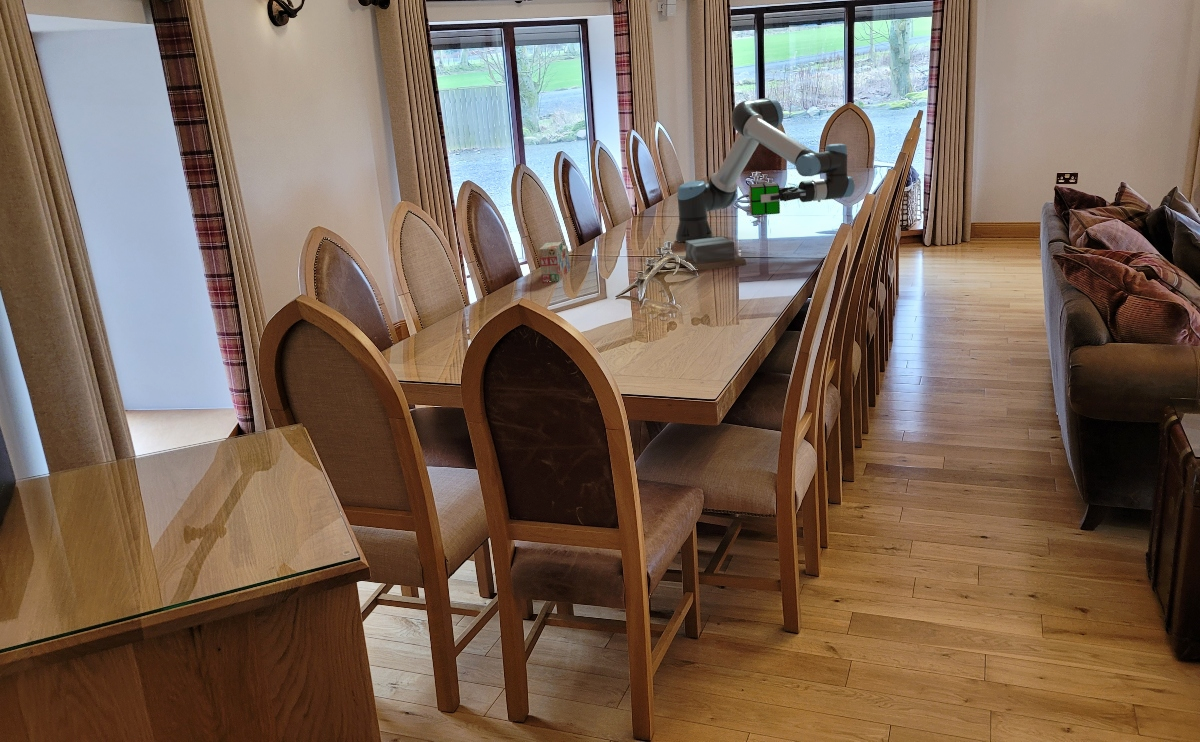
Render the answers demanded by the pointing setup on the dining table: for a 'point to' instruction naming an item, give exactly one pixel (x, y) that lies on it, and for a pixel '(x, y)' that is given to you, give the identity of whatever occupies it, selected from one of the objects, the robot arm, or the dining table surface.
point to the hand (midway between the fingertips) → (754, 196)
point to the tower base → (712, 253)
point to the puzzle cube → (755, 199)
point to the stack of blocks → (554, 261)
